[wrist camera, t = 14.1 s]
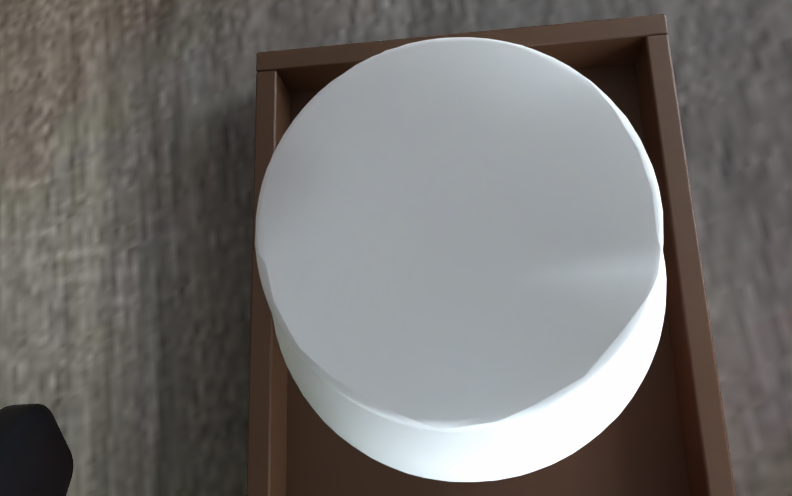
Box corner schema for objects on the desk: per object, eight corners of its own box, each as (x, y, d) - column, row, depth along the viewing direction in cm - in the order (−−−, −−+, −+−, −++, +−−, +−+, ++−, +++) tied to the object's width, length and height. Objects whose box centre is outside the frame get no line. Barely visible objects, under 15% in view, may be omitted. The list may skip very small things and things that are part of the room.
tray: (736, 675, 16) (767, 706, 14) (265, 672, 17) (240, 700, 16) (649, 50, 20) (666, 12, 19) (275, 83, 22) (256, 52, 20)
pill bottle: (320, 411, 19) (95, 382, 8) (401, 200, 20) (301, -71, 9) (548, 501, 17) (649, 611, 7) (620, 270, 18) (801, 49, 8)
